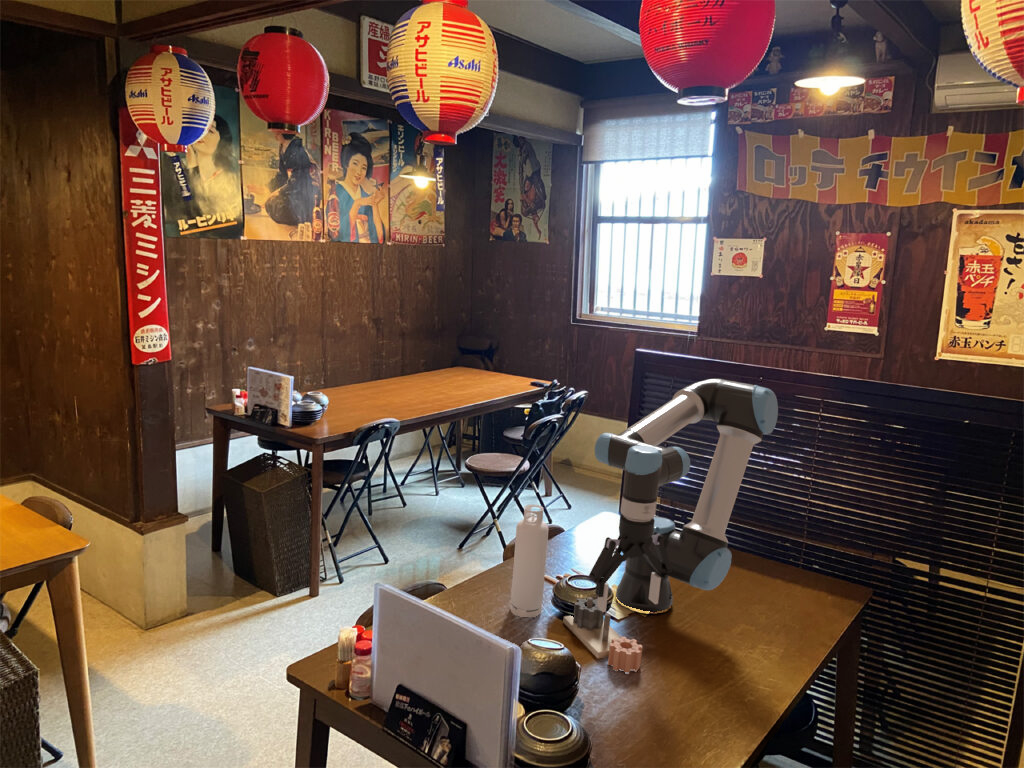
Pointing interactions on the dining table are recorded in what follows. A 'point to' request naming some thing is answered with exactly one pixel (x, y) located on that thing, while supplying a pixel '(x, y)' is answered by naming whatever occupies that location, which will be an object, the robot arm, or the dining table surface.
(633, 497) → the robot arm
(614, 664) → the gear
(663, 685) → the dining table surface
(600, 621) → the gear board
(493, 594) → the dining table surface
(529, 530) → the bottle
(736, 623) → the dining table surface
